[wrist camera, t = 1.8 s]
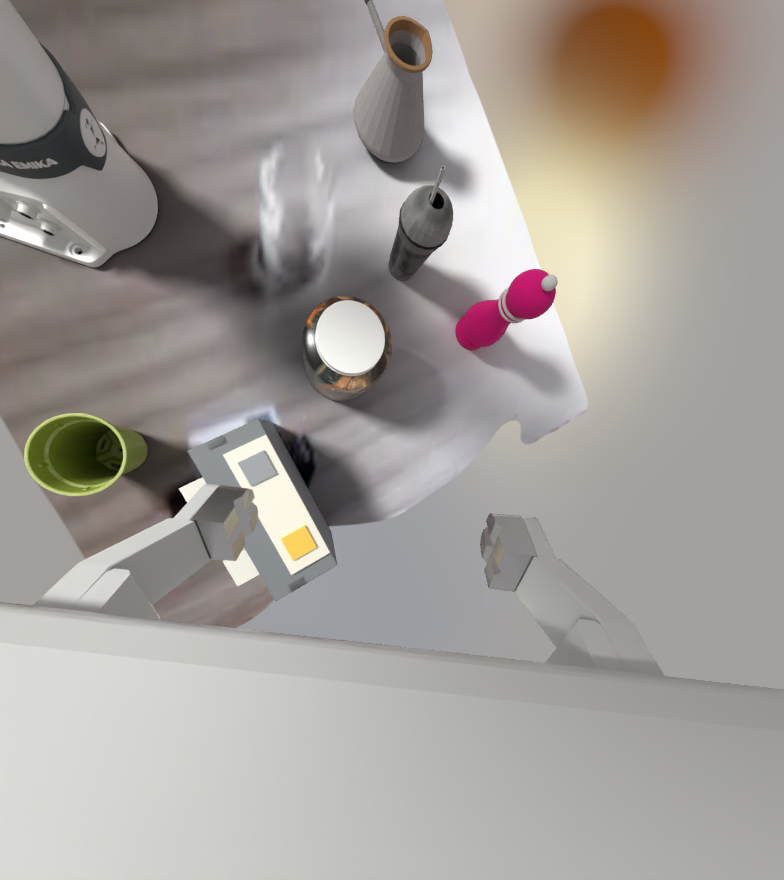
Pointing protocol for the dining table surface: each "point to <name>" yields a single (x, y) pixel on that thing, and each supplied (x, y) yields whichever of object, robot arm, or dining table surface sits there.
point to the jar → (345, 347)
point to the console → (271, 505)
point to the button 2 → (241, 568)
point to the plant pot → (81, 454)
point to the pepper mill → (507, 309)
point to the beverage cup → (420, 228)
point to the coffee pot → (394, 91)
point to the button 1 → (192, 488)
